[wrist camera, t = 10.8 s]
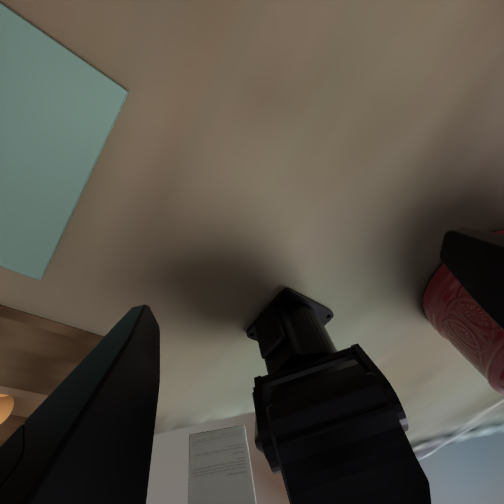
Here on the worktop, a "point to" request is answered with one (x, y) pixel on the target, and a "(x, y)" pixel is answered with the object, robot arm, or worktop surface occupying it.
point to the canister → (466, 325)
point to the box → (36, 361)
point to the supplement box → (220, 468)
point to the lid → (45, 139)
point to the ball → (5, 407)
